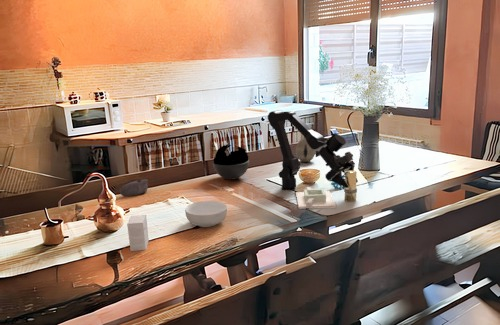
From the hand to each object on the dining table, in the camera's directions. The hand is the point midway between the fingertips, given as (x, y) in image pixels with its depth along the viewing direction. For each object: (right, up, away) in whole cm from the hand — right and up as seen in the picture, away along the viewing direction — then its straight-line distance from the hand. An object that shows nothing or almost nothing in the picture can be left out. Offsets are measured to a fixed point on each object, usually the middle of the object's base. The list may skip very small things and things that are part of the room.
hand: (352, 184), depth 194 cm
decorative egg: (-12, +10, +73) cm, 74 cm away
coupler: (0, -7, +2) cm, 7 cm away
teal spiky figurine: (-2, -2, +21) cm, 21 cm away
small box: (-86, -21, -36) cm, 95 cm away
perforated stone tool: (-104, -6, +24) cm, 107 cm away
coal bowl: (-56, +1, +44) cm, 71 cm away
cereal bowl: (-63, -15, -18) cm, 67 cm away
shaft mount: (-16, -7, +3) cm, 18 cm away
